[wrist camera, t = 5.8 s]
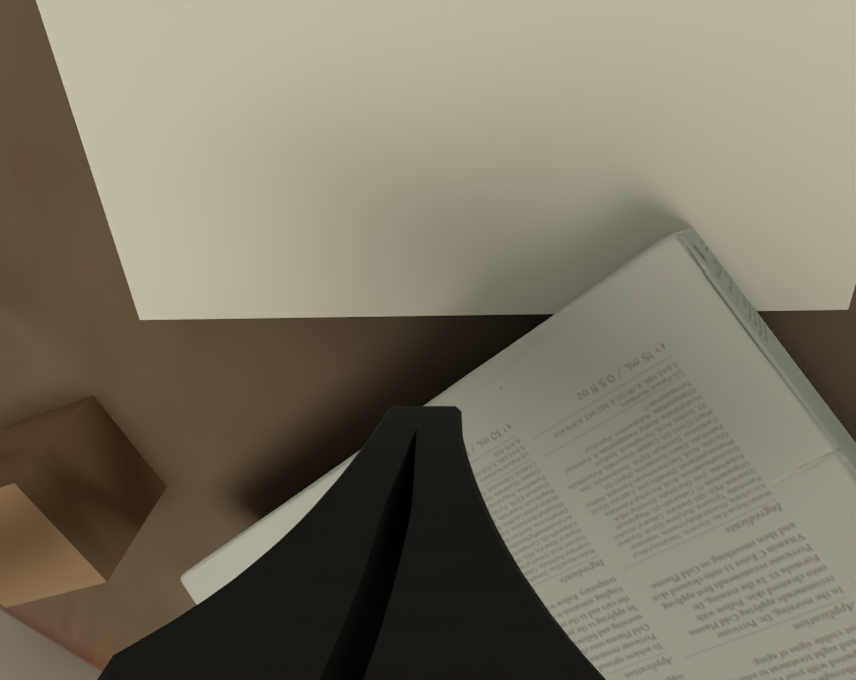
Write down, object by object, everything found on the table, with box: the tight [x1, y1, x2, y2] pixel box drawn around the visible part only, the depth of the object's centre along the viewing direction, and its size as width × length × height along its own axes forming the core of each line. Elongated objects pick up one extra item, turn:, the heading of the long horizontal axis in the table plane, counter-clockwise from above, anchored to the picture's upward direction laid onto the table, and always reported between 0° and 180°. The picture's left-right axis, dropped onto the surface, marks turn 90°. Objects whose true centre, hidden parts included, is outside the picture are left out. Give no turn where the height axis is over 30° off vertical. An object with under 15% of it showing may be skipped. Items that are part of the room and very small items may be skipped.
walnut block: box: [0, 396, 166, 608], centre depth 26 cm, size 5×5×5 cm
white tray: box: [36, 0, 856, 320], centre depth 17 cm, size 17×23×2 cm
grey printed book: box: [181, 227, 856, 680], centre depth 21 cm, size 21×5×16 cm
